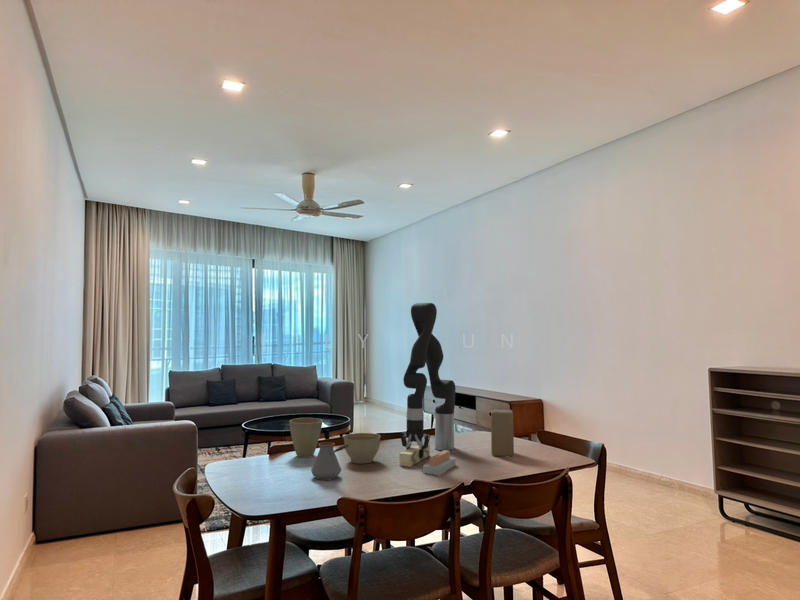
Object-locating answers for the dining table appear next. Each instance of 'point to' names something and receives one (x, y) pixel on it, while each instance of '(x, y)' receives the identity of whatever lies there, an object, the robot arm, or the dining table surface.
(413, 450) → the batten
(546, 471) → the dining table surface
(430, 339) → the robot arm
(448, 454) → the fulcrum
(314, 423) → the plant pot
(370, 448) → the planter bowl
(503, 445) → the wooden block
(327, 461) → the coffee pot
